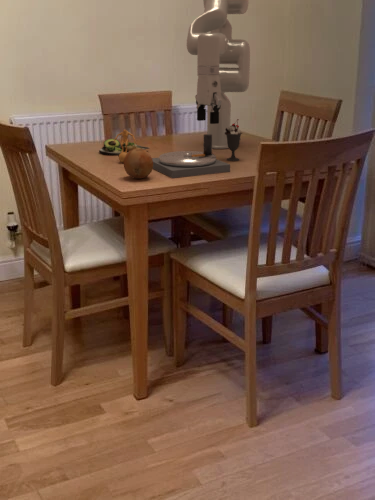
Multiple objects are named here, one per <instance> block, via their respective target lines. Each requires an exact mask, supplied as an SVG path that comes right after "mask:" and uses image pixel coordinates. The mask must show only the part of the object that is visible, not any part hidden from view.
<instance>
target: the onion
mask: <svg viewBox="0 0 375 500" xmlns="http://www.w3.org/2000/svg"><path fill="white" fill-rule="evenodd" d="M152 158H153V157H152V156H151V153H149V152H148V151H147V150H146V149H145V150H144V149H141V148H137V149H133V150H130V151H129V152H128V153H127V154H126V156H125V159H124V163H123V168H124V170H125V172H126V174H127V175H128V176H129V177H131V178H132V179H137V180H138V179H140V180H141V179H144V178H147V177H148V176H149V175H150V174H151V173H152V171H153V170H154V169H153V160H152Z"/></svg>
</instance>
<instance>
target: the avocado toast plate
mask: <svg viewBox="0 0 375 500" xmlns="http://www.w3.org/2000/svg"><path fill="white" fill-rule="evenodd" d="M114 140H115V138H109V139H108V138H107V139H106V140H105V141H104V142H103V146H102V147H101V148H100V149H99V150H98V152H99V153H100V154H101V155H104V156H119V154H120V153H121V152H122V147H121V142H120V141H119V140H118V139H116V140H115V142H114ZM137 144H138V143H136V144H135V143H134V142H131V141H129V142H128V145H127V147H128V148H127V153H128V152H129V151H130V150H133V149H137V148H141V149H144V150H145V151H146V150H148V149H150V147H148V146H142V145H137ZM122 146H123V148H124V149H123V152H125V151H126V144H125V142H124V144H123V145H122Z"/></svg>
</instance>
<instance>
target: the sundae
mask: <svg viewBox="0 0 375 500" xmlns="http://www.w3.org/2000/svg"><path fill="white" fill-rule="evenodd" d="M239 120H240V119H238V118H237V119H236V121H234V123H232V124H230V127H229V128H228V129H227V128H226V129H225V130H226V132H225V135H226V136H227V144H228V148H227V149H229V150H230V151H231V155H230V157H228V158H225V159H226V161H228V162H238V161H240V158H238V157H236V155H235V153H236V152H235V151H236V150H237V149H239V147H240V141H241V139H240V138H241V135H242V134H243V132H242V131H241V130H242V129H241V128H239V127H240V126H239V124H238V121H239Z"/></svg>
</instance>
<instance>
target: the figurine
mask: <svg viewBox="0 0 375 500" xmlns="http://www.w3.org/2000/svg"><path fill="white" fill-rule="evenodd" d="M119 136H122V139H121V142H120V144H121V147H122V152H121V153H120V154H119V155H118V161H119V162H121V163H123V164H124V159H125V156H126V154H127V148H128V147H127V145H128V142H130V141H129V139H128V137H129V136H130V137H132V138H133V143H134V144H136V138H135V136H134V134H132V133H131V132H129V131H128V130H127V129H123V130H122V131H121V132H120V133H118V134H117V135H116V137H114V139H115V140H118V137H119ZM115 140H114V142H115ZM124 143H125V144H126V151H125V152H123V149H124V148H123V146H122V145H123V144H124ZM136 145H137V144H136Z"/></svg>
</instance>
